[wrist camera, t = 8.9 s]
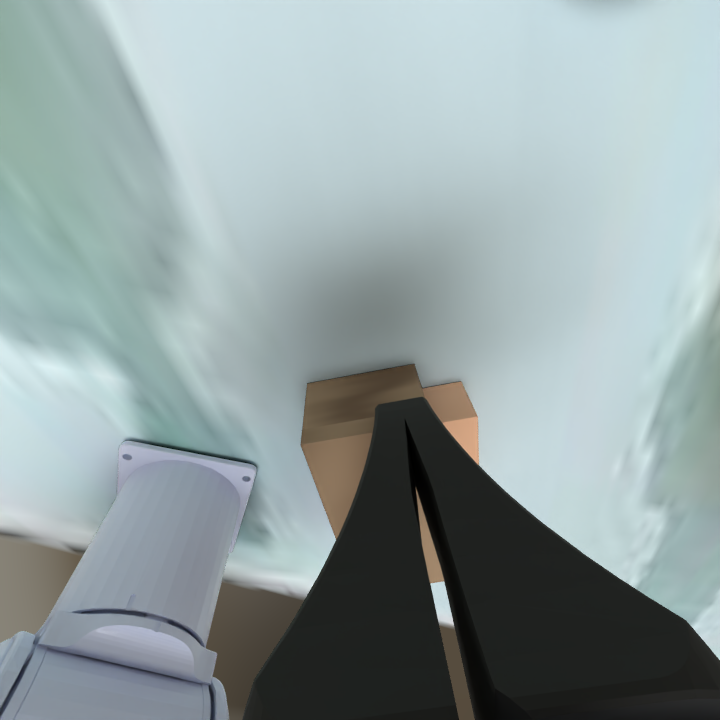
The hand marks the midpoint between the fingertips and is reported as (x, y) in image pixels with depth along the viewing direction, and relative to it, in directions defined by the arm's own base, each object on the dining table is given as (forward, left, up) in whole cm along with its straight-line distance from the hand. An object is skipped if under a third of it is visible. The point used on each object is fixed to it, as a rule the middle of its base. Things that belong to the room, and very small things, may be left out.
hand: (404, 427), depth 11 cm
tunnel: (-10, -4, -9) cm, 15 cm away
